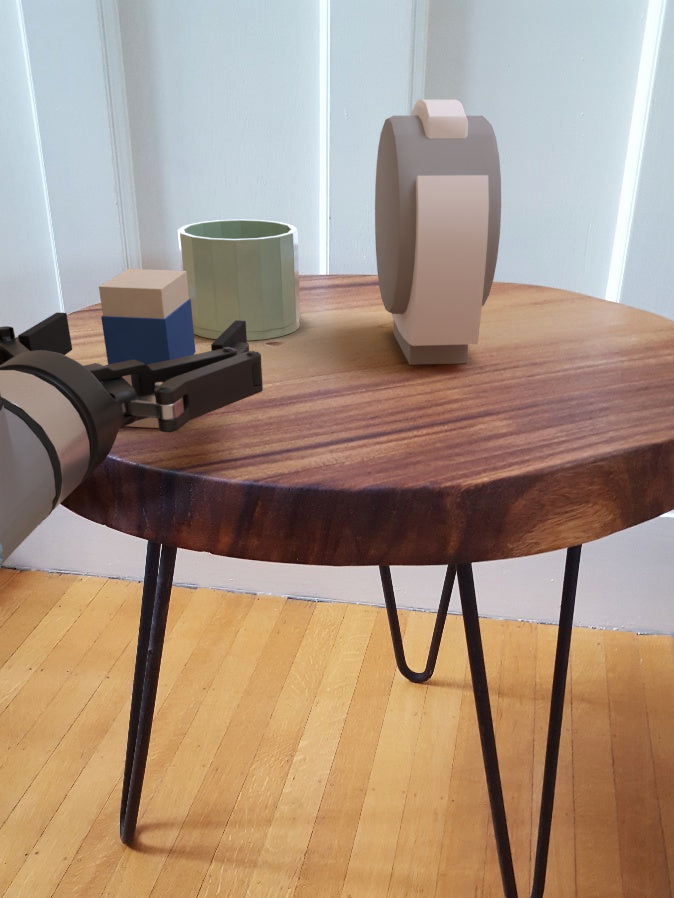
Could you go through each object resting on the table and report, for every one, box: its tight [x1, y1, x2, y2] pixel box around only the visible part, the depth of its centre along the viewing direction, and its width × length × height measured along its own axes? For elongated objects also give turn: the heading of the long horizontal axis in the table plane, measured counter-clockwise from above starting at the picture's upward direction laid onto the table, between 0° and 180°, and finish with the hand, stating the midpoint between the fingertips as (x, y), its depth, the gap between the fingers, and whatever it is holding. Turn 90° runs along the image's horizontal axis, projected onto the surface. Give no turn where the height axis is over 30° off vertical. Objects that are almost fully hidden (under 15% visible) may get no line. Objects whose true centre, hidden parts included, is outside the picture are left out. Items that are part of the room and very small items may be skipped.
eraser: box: [98, 268, 196, 429], centre depth 71 cm, size 5×6×10 cm
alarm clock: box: [374, 98, 502, 366], centre depth 85 cm, size 18×8×20 cm, turn 7°
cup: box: [177, 218, 301, 342], centre depth 94 cm, size 11×11×9 cm
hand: (152, 335), depth 71 cm, fingers open, 13 cm apart
